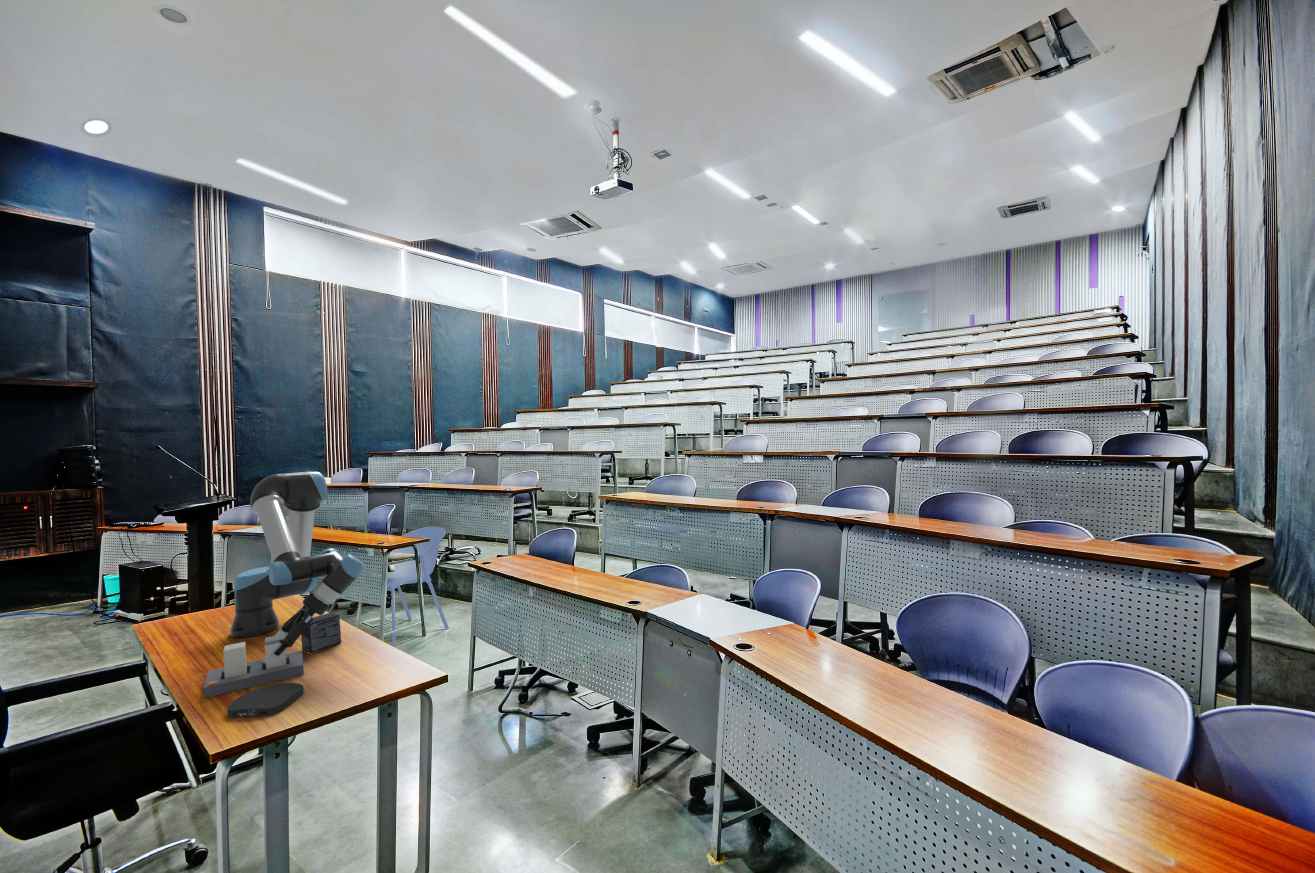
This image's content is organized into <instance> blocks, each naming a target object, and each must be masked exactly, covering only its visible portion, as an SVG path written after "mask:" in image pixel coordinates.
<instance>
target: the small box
mask: <svg viewBox="0 0 1315 873" xmlns="http://www.w3.org/2000/svg"><path fill="white" fill-rule="evenodd" d="M313 618H314V619H313V621H311V623H310V624H309V625H308V626H307V627H306V629H305V630H304V631H303V632H302V634H301V635H300V637H301V638H300V640H301V651H302V650H303V651H302V652H304V651H305V653H307V652H309V653H308V654H310V653H312V654H314V653H317V652H320V651H322V649H323V650H325V648H326V649H327V648H331V647H334V646H337V645H339V644H342V636H341V633H342V632H341V622H340V621H341V620H340V613H335V612H327V613H324V614H322V615H318V616H313ZM319 650H320V651H319ZM316 651H317V652H316ZM313 652H314V653H313Z"/></svg>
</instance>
